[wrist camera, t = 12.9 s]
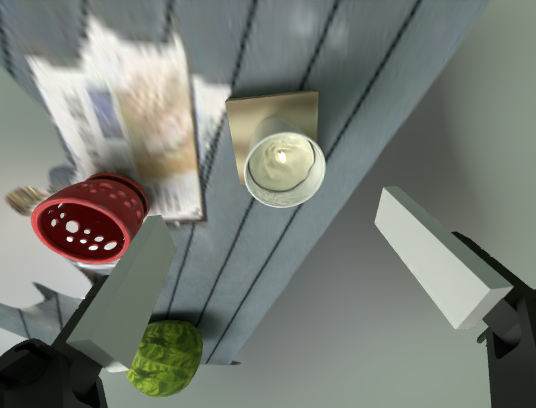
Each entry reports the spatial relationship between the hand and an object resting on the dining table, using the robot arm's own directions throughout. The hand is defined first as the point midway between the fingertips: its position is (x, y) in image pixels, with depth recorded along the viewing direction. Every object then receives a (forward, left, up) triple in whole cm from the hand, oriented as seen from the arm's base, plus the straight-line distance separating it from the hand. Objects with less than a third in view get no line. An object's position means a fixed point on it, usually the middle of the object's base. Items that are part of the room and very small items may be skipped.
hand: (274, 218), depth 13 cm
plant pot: (+11, -29, -28) cm, 41 cm away
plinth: (+3, +2, -27) cm, 28 cm away
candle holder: (+3, +2, -25) cm, 25 cm away
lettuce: (+59, -36, -28) cm, 74 cm away
